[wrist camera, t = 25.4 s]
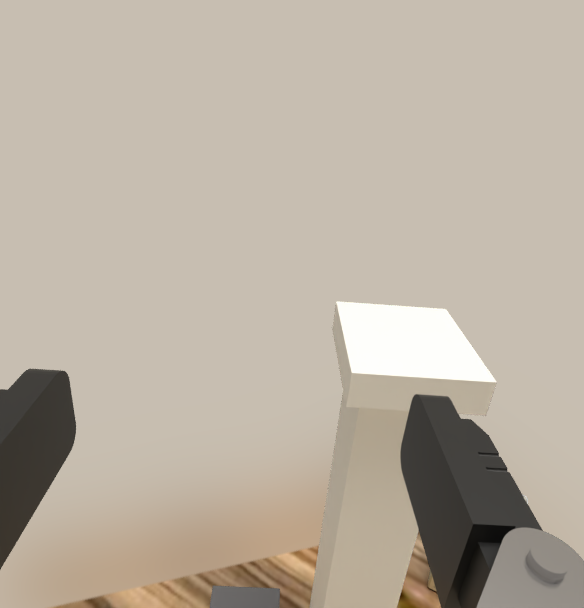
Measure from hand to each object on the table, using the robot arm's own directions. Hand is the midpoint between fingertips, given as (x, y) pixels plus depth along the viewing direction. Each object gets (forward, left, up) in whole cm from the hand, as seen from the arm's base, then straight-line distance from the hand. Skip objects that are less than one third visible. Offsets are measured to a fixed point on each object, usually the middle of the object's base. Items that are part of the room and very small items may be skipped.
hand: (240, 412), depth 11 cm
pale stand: (-4, -15, -38) cm, 41 cm away
